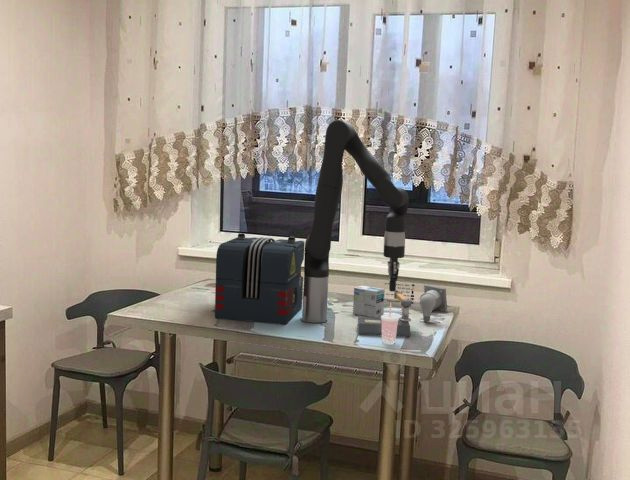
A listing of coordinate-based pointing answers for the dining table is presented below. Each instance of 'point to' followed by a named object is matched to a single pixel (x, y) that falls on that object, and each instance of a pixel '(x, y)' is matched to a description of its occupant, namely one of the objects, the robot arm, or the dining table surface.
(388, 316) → the beverage cup
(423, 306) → the lightbulb
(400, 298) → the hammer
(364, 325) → the grey rectangular block
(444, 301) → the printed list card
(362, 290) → the light bulb box
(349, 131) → the robot arm
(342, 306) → the dining table surface
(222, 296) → the power unit
